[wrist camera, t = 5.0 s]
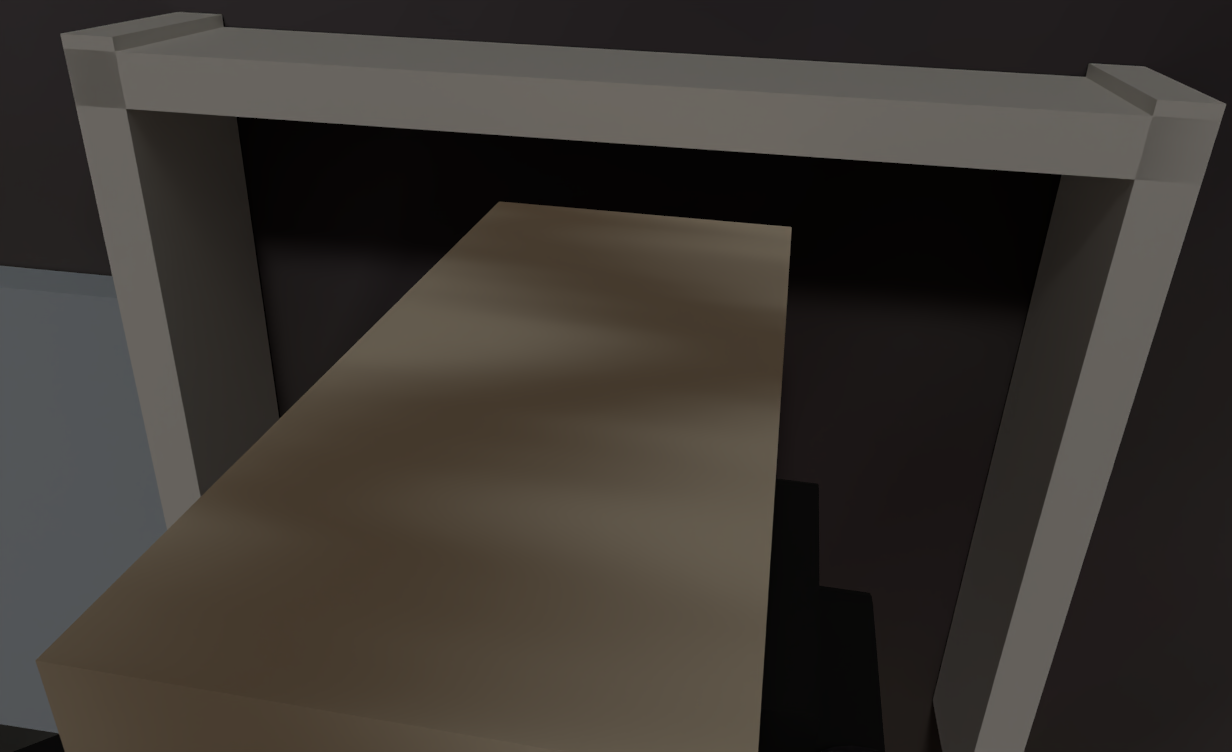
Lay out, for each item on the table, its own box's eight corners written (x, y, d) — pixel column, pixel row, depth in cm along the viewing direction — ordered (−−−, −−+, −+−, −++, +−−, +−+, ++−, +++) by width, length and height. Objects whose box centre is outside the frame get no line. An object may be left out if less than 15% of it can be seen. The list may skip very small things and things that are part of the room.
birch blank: (791, 226, 13) (754, 784, 5) (737, 678, 16) (666, 1417, 8) (499, 201, 13) (34, 661, 5) (509, 643, 17) (243, 1304, 9)
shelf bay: (1145, 66, 14) (1225, 104, 12) (971, 705, 20) (999, 827, 18) (177, 11, 16) (60, 33, 14) (274, 610, 22) (205, 706, 20)
